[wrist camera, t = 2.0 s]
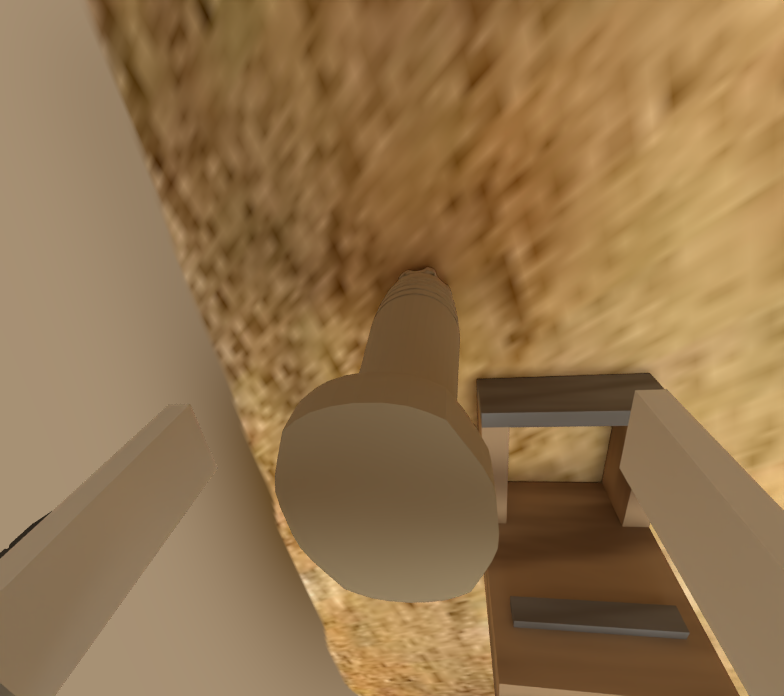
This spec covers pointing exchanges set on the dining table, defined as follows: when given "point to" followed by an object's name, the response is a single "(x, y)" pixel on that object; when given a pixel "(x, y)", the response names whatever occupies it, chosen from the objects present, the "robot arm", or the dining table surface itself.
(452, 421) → the handle
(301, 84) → the dining table surface
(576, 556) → the wooden stand
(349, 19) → the dining table surface
